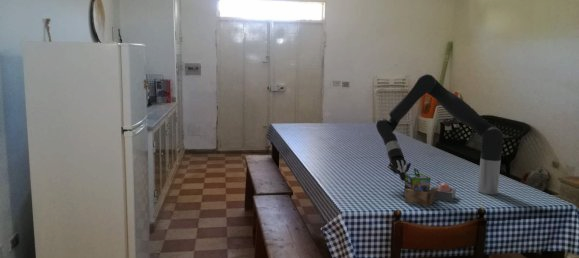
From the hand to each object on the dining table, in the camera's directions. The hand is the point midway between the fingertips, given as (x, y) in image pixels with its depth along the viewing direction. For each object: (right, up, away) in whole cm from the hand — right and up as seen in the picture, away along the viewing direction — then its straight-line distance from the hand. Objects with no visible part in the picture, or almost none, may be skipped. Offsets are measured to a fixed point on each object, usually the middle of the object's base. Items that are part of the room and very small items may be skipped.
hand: (404, 180), depth 215 cm
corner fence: (+4, -8, -14) cm, 16 cm away
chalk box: (+3, -8, -11) cm, 14 cm away
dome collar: (+17, -7, -7) cm, 20 cm away
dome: (+17, -7, -8) cm, 20 cm away
